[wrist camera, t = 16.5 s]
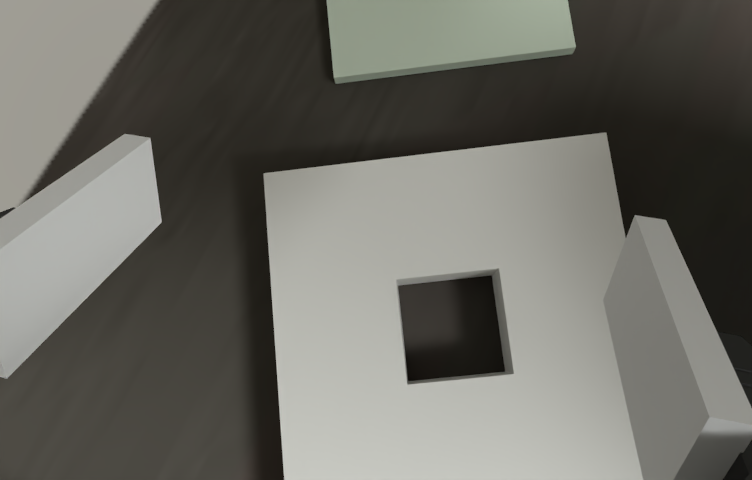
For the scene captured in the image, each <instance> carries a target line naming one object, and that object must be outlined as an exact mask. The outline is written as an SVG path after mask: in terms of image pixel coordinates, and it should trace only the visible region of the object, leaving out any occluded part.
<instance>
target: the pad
mask: <svg viewBox="0 0 752 480" xmlns="http://www.w3.org/2000/svg"><path fill="white" fill-rule="evenodd" d="M327 11H328V21H329V32H330V43H331V53H332V64H333V75H334V80H335V83H336V84H339V83H347V82H355V81H363V80H371V79H379V78H387V77H394V76H402V75H410V74H418V73H426V72H434V71H442V70H450V69H458V68H466V67H474V66H482V65H490V64H498V63H506V62H514V61H521V60H529V59H537V58H545V57H553V56H561V55H569V54H573V52H574V50H575V48H576V45H575V39H574V33H573V28H572V22H571V17H570V11H569V5H568V0H327Z"/></svg>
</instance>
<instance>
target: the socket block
mask: <svg viewBox="0 0 752 480" xmlns="http://www.w3.org/2000/svg"><path fill="white" fill-rule="evenodd" d="M263 175H264V189H265V204H266V219H267V234H268V248H269V263H270V278H271V293H272V307H273V322H274V337H275V352H276V366H277V381H278V396H279V411H280V425H281V440H282V455H283V470H284V480H643V476H642V472H641V468H640V463H639V459H638V454H637V450H636V445H635V441H634V436H633V432H632V427H631V423H630V418H629V414H628V409H627V405H626V400H625V396H624V391H623V387H622V382H621V378H620V373H619V369H618V364H617V360H616V356H615V351H614V347H613V342H612V338H611V333H610V329H609V324H608V320H607V315H606V311H605V306H604V302H603V299H604V296H605V294H606V291H607V288H608V286H609V283H610V280H611V277H612V275H613V272H614V269H615V267H616V264H617V261H618V259H619V256H620V253H621V251H622V248H623V245H624V242H625V240H626V237H625V232H624V227H623V221H622V216H621V210H620V205H619V199H618V194H617V188H616V183H615V177H614V172H613V167H612V161H611V156H610V150H609V145H608V139H607V134H606V133H597V134H589V135H581V136H572V137H564V138H555V139H547V140H539V141H530V142H522V143H513V144H505V145H497V146H488V147H480V148H471V149H463V150H455V151H446V152H438V153H429V154H421V155H413V156H404V157H396V158H387V159H379V160H371V161H362V162H354V163H345V164H337V165H329V166H320V167H312V168H303V169H295V170H287V171H278V172H270V173H263ZM491 275H492V281H493V288H494V295H495V303H496V310H497V317H498V324H499V332H500V339H501V346H502V353H503V360H504V368H505V372H496V373H486V374H476V375H466V376H456V377H446V378H436V379H426V380H416V381H408V374H407V365H406V355H405V346H404V337H403V328H402V318H401V309H400V300H399V291H398V286H399V285H408V284H417V283H427V282H436V281H445V280H454V279H464V278H473V277H482V276H491Z"/></svg>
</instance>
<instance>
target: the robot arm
mask: <svg viewBox="0 0 752 480" xmlns="http://www.w3.org/2000/svg"><path fill="white" fill-rule="evenodd" d="M161 223H162V220H161V213H160V205H159V198H158V190H157V183H156V176H155V168H154V161H153V154H152V146H151V139H150V138H148V137H142V136H136V135H129V134H124V135H122V136H121V137H119V138H118V139H116V140H115V141H114V142H112V143H111V144H109V145H108V146H106V147H105V148H103V149H102V150H100V151H99V152H97V153H96V154H94V155H93V156H91V157H90V158H89V159H87V160H86V161H84V162H83V163H81V164H80V165H78V166H77V167H75V168H74V169H72V170H71V171H69V172H68V173H67V174H65V175H64V176H62V177H61V178H59V179H58V180H56V181H55V182H53V183H52V184H50V185H49V186H47V187H46V188H44V189H43V190H42V191H40V192H39V193H37V194H36V195H34V196H33V197H31V198H30V199H28V200H27V201H25V202H24V203H22V204H21V205H20V206H18V207H17V208H11V209H8V210H6V211H3V212H0V377H2V378H8V377H9V376H10V375H11V374H12V373H13V372H14V371H15V370H16V369H17V368H18V367H19V366H20V365H21V364H22V363H23V362H24V361H25V360H26V359H27V358H28V357H29V356H30V355H31V354H32V353H33V352H34V351H35V350H36V349H37V348H38V347H39V346H40V345H41V344H42V343H43V342H44V341H45V340H46V339H47V338H48V337H49V336H50V335H51V334H52V333H53V332H54V331H55V330H56V329H57V328H58V327H59V325H60V324H61V323H62V322H63V321H64V320H65V319H66V318H67V317H68V316H69V315H70V314H71V313H72V312H73V311H74V310H75V309H76V308H77V307H78V306H79V305H80V304H81V303H82V302H83V301H84V300H85V299H86V298H87V297H88V296H89V295H90V294H91V293H92V292H93V291H94V290H95V289H96V288H97V287H98V286H99V285H100V284H101V283H102V282H103V281H104V280H105V279H106V278H107V277H108V276H109V275H110V274H111V273H112V272H113V271H114V270H115V269H116V268H117V267H118V266H119V265H120V264H121V263H122V262H123V261H124V260H125V259H126V258H127V257H128V256H129V255H130V254H131V253H132V252H133V251H134V250H135V249H136V248H137V247H138V246H139V245H140V244H141V243H142V242H143V241H144V240H145V239H146V238H147V237H148V236H149V235H150V234H151V233H152V232H153V231H154V230H155V229H156V228H157V227H158V226H159V225H160V224H161ZM603 302H604V306H605V311H606V315H607V320H608V324H609V329H610V333H611V338H612V342H613V347H614V351H615V356H616V360H617V364H618V369H619V373H620V378H621V382H622V387H623V391H624V396H625V400H626V405H627V409H628V414H629V418H630V423H631V427H632V432H633V436H634V441H635V445H636V450H637V454H638V459H639V463H640V468H641V472H642V476H643V480H752V346H751V345H750V344H749V343H748V342H747V341H746V340H745V339H744V338H743V337H742V336H738V335H732V334H727V333H721V332H717V331H716V329H715V326H714V324H713V322H712V320H711V318H710V315H709V313H708V311H707V309H706V307H705V304H704V302H703V300H702V298H701V296H700V294H699V291H698V289H697V287H696V285H695V283H694V280H693V278H692V276H691V274H690V272H689V269H688V267H687V265H686V263H685V261H684V258H683V256H682V254H681V252H680V250H679V247H678V245H677V243H676V241H675V239H674V237H673V234H672V232H671V230H670V228H669V226H668V223H667V221H666V220H663V219H657V218H650V217H644V216H638V215H635V216H634V218H633V221H632V224H631V226H630V229H629V232H628V234H627V237H626V240H625V242H624V245H623V248H622V251H621V253H620V256H619V259H618V261H617V264H616V267H615V269H614V272H613V275H612V277H611V280H610V283H609V286H608V288H607V291H606V294H605V296H604V299H603Z"/></svg>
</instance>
